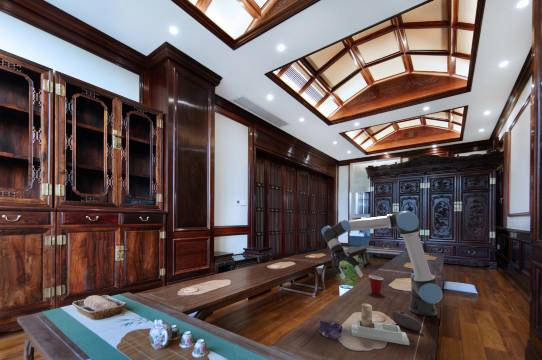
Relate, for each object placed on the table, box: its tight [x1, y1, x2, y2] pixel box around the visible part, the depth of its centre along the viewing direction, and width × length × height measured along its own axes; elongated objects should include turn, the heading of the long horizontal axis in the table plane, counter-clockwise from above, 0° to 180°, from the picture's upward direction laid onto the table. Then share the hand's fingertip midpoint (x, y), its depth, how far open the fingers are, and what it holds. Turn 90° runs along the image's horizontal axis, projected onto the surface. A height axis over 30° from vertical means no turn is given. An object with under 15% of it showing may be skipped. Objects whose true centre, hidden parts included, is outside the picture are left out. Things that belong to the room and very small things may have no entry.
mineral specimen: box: [318, 320, 343, 340], centre depth 129 cm, size 11×14×4 cm
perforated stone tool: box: [392, 310, 423, 332], centre depth 139 cm, size 15×5×7 cm, turn 33°
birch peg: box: [361, 303, 373, 328], centre depth 131 cm, size 5×5×12 cm
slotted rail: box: [351, 318, 410, 346], centre depth 128 cm, size 26×10×4 cm, turn 72°
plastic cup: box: [368, 274, 384, 295], centre depth 199 cm, size 11×11×12 cm
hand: (353, 277), depth 149 cm, fingers open, 13 cm apart
